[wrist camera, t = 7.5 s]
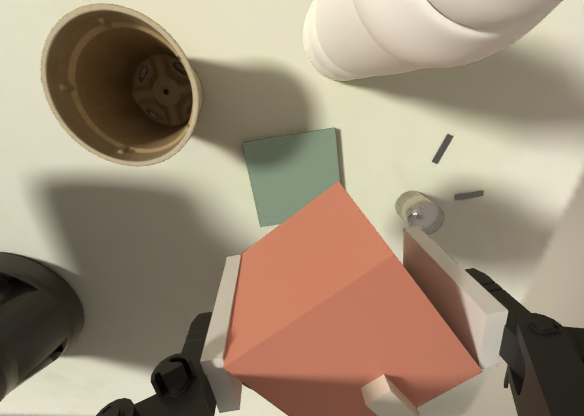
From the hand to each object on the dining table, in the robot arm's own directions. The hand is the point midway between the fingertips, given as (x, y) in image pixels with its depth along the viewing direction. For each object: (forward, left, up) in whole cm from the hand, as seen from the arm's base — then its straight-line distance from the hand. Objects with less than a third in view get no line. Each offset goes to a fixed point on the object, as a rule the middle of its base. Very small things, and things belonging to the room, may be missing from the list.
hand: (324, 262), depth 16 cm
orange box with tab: (0, 0, 0) cm, 0 cm away
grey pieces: (+14, -2, -15) cm, 21 cm away
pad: (-1, 0, -15) cm, 15 cm away
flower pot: (-11, +10, -15) cm, 21 cm away
